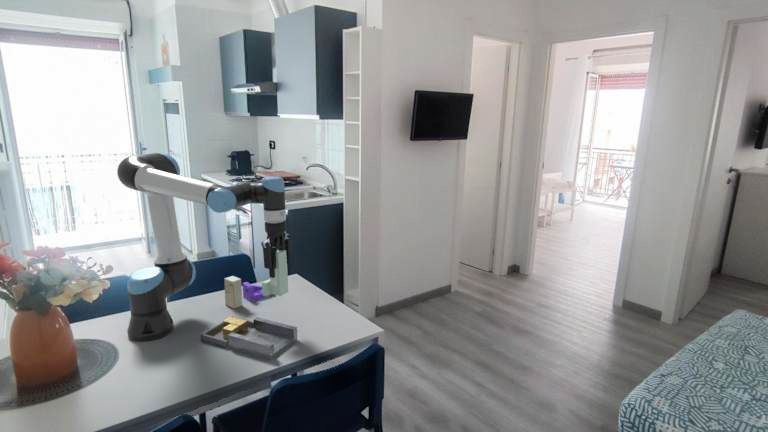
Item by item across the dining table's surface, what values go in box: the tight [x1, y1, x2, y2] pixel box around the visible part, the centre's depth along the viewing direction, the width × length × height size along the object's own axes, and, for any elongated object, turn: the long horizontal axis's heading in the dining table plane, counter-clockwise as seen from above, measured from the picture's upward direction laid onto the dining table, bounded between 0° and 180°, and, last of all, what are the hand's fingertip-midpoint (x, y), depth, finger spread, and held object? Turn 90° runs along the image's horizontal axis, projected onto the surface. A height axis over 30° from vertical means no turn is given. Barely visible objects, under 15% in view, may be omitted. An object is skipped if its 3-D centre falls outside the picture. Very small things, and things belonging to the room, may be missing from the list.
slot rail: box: [228, 316, 298, 361], centre depth 153 cm, size 18×15×5 cm
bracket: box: [242, 281, 275, 303], centre depth 194 cm, size 12×7×7 cm, turn 132°
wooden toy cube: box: [223, 324, 240, 340], centre depth 156 cm, size 4×4×4 cm
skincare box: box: [223, 275, 243, 309], centre depth 183 cm, size 6×4×12 cm
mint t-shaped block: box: [261, 250, 289, 297], centre depth 157 cm, size 6×9×16 cm
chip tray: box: [200, 315, 254, 349], centre depth 160 cm, size 12×16×2 cm
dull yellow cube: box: [222, 316, 240, 327], centre depth 162 cm, size 4×4×4 cm
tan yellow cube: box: [231, 318, 248, 335], centre depth 160 cm, size 4×4×4 cm
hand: (279, 282), depth 158 cm, fingers closed on mint t-shaped block, 4 cm apart
